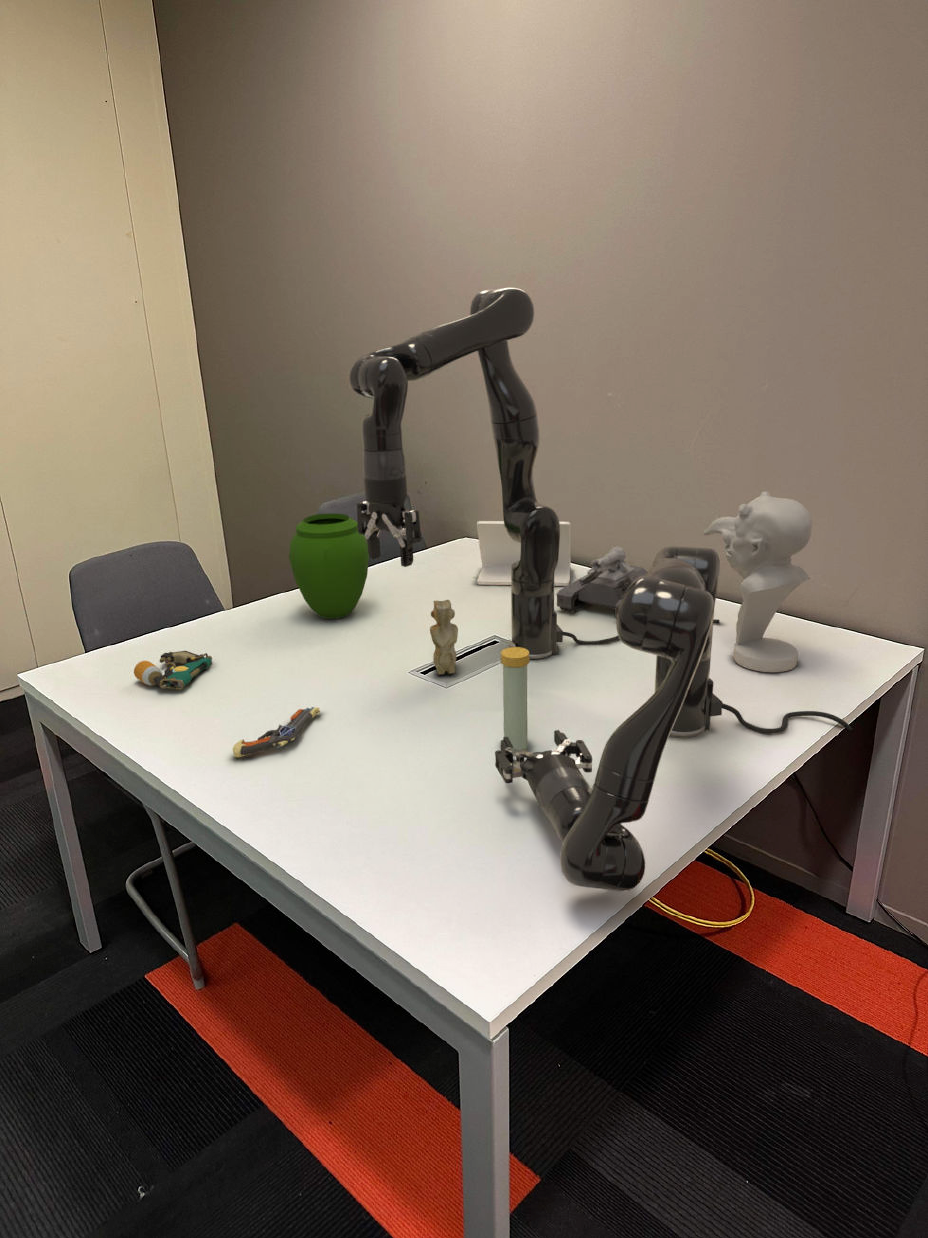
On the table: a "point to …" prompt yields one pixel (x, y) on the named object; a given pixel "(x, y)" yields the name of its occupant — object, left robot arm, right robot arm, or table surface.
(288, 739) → the toy gun
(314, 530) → the vase
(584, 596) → the toy
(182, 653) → the spray gun
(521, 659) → the lid
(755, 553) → the bust sculpture
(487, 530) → the tablet stand
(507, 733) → the pale green cylinder
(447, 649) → the sculpture
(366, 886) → the table surface
